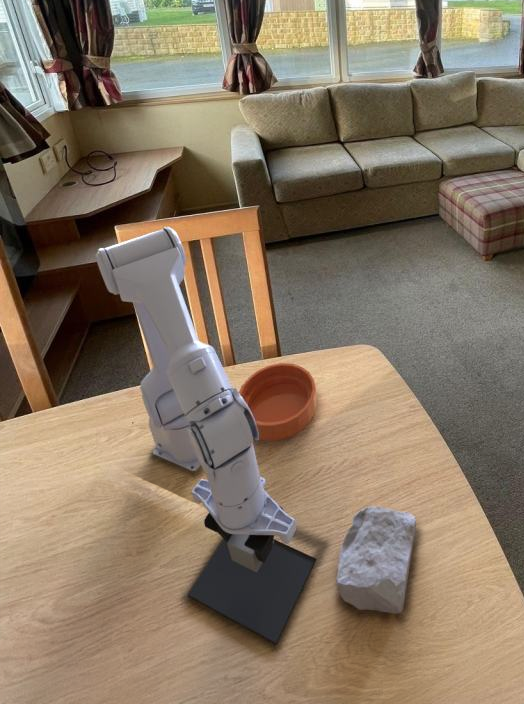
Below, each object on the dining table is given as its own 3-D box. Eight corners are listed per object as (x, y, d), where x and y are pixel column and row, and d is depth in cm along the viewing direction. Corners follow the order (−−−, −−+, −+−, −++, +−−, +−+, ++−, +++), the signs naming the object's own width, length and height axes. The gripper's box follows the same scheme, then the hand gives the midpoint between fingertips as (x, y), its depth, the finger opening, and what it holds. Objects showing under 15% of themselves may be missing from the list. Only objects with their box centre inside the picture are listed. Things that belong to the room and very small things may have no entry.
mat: (187, 596, 65) (187, 594, 65) (242, 510, 75) (242, 508, 75) (276, 644, 60) (276, 643, 60) (322, 546, 70) (322, 544, 70)
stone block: (335, 611, 64) (408, 620, 61) (326, 588, 63) (400, 597, 60) (358, 521, 75) (421, 525, 72) (351, 500, 73) (415, 504, 70)
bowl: (224, 428, 88) (220, 411, 86) (269, 372, 100) (266, 355, 98) (292, 453, 83) (289, 436, 81) (330, 391, 95) (328, 374, 93)
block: (231, 560, 64) (226, 542, 63) (249, 530, 68) (245, 513, 66) (256, 572, 63) (252, 555, 61) (274, 541, 66) (270, 524, 65)
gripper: (304, 473, 60) (314, 538, 66) (210, 436, 65) (227, 499, 71) (272, 530, 54) (285, 595, 60) (171, 485, 59) (193, 549, 65)
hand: (252, 547), depth 65 cm, fingers closed on block, 4 cm apart
